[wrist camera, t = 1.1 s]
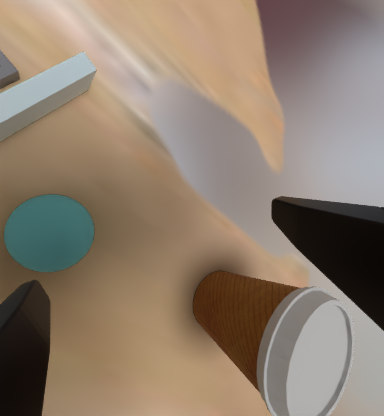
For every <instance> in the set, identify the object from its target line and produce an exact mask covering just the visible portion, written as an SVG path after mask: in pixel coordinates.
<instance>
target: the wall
mask: <svg viewBox="0 0 384 416" xmlns="http://www.w3.org/2000/svg"><path fill="white" fill-rule="evenodd" d="M96 70H97V69H96V68H95V66H94V65H93V64H92V62H91V61H90V60H89V58H88V57H87V55H86V54H85V53H84V51H83V52H81V53H79V54H77V55H75V56H74V57H72V58H70V59H68V60H66V61H64V62H62V63H60V64H58V65H56V66H54V67H52V68H50V69H48V70H46V71H44V72H42V73H40V74H38V75H36V76H34V77H32V78H30V79H28V80H26V81H24V82H22V83H20V84H18V85H16V86H14V87H12V88H10V89H8V90H6V91H4V92H2V93H0V142H1V141H2V140H4V139H6V138H7V137H9V136H11V135H13V134H14V133H16V132H18V131H19V130H21V129H23V128H25V127H26V126H28V125H30V124H31V123H33V122H35V121H36V120H38V119H40V118H42V117H43V116H45V115H47V114H48V113H50V112H52V111H54V110H55V109H57V108H59V107H60V106H62V105H64V104H65V103H67V102H69V101H71V100H72V99H74V98H76V97H77V96H79V95H81V94H83V93H84V92H86V91H88V89H89V87H90V85H91V82H92V80H93V78H94V75H95V73H96Z"/></svg>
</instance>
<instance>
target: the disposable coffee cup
mask: <svg viewBox="0 0 384 416" xmlns="http://www.w3.org/2000/svg"><path fill="white" fill-rule="evenodd" d="M193 312H194V315H195V318H196V320H197V321H198V323H199V324H200V325H201V326H202V327H203V328H204V329H205V331H206V332H207V333H208V334H209V335H210V336H211V338H212V339H213V340H214V341H215V342H216V343H217V344H218V346H219V347H220V348H221V349H222V350H223V351H224V352H225V353H226V355H227V356H228V357H229V358H230V359H231V360H232V361H233V363H234V364H235V365H236V366H237V367H238V368H239V369H240V371H241V372H242V373H243V374H244V375H245V376H246V377H247V378H248V380H249V381H250V382H251V383H252V384H253V385H254V387H255V388H256V389H257V390H258V391H259V392H260V394H261V397H262V399H263V400H264V401H265V403H266V406H267V409H268V410H269V411H270V413H271V414H272V415H273V416H330V414H331V413H332V412H333V410H334V409H335V407H336V405H337V403H338V401H339V400H340V398H341V396H342V393H343V391H344V389H345V386H346V383H347V380H348V377H349V374H350V370H351V365H352V361H353V354H354V342H355V340H354V339H355V337H354V336H355V334H354V325H353V320H352V317H351V314H350V312H349V310H348V308H347V307H346V306H345V305H344V304H343V303H342V302H341V301H339V300H337V299H336V298H334V297H333V296H332V295H331V294H330V293H329V292H328V291H327V290H326V289H323V288H320V287H304V288H298V287H294V286H290V285H284V284H279V283H275V282H270V281H266V280H261V279H256V278H250V277H246V276H241V275H237V274H233V273H229V272H224V271H217V272H214V273H211V274H210V275H208V276H207V277H206V278H205V279H204V280H203V281H202V282H201V283H200V285H199V287H198V289H197V291H196V293H195V296H194V301H193Z"/></svg>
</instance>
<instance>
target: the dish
mask: <svg viewBox="0 0 384 416" xmlns="http://www.w3.org/2000/svg"><path fill="white" fill-rule="evenodd" d="M18 79H20V78H19V73H18V70H17V69H16V68H15V67H14V66H13V64H12V63H11V62H10V61H9V60H8V59H7V57H6V56H5V55H4V54H3V53H2V52H1V50H0V88H2V87H4V86H6V85H8V84H10V83H12V82H14V81H16V80H18Z"/></svg>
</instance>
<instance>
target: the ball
mask: <svg viewBox="0 0 384 416" xmlns="http://www.w3.org/2000/svg"><path fill="white" fill-rule="evenodd" d="M93 238H94V224H93V220H92V218H91V216H90V214H89V212H88V211H87V210H86V209H85V207H83V206H82V205H81V204H80V203H79V202H77V201H75V200H74V199H72V198H69V197H66V196H62V195H56V194H48V195H41V196H37V197H34V198H31V199H29V200H27V201H25V202H24V203H22V204H21V205H19V206H18V207H17V208H16V209H15V210H14V211H13V212H12V214H11V215H10V217H9V218H8V220H7V222H6V226H5V230H4V241H5V245H6V248H7V250H8V252H9V254H10V255H11V256H12V258H13V259H14V260H15V261H16V262H18V263H19V264H20V265H22V266H24V267H26V268H28V269H30V270H33V271H38V272H55V271H60V270H63V269H66V268H68V267H71V266H73V265H74V264H76V263H77V262H78V261H80V260H81V259H82V258H83V257H84V256H85V255H86V253H87V252H88V251H89V249H90V247H91V245H92V242H93Z"/></svg>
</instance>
